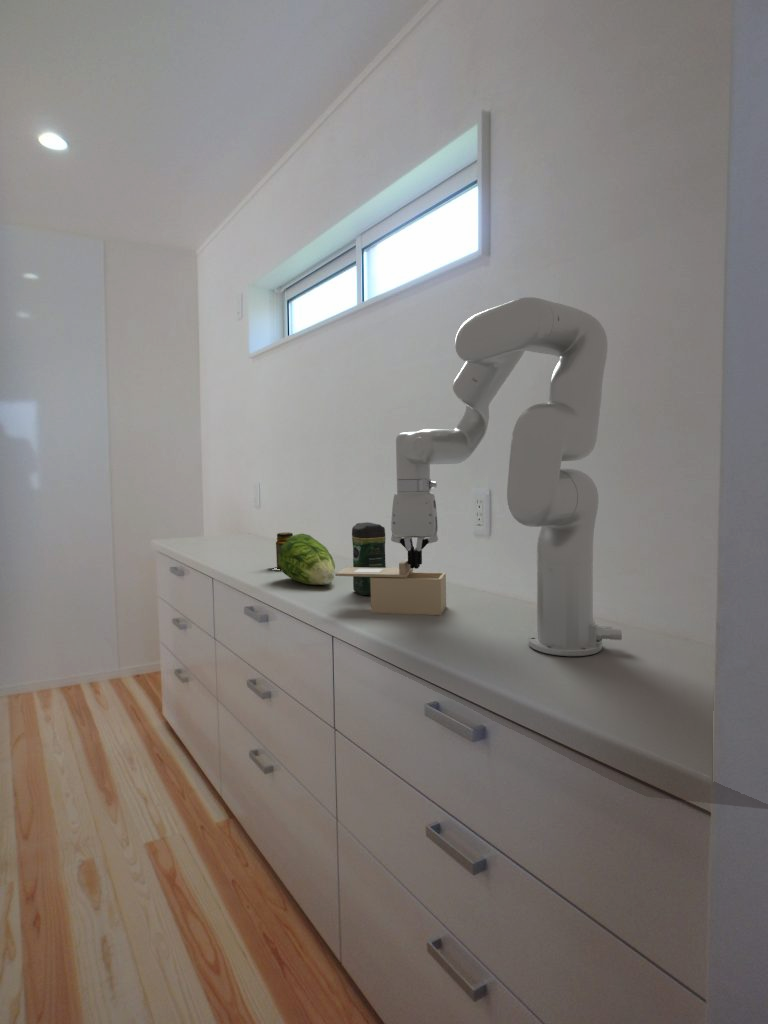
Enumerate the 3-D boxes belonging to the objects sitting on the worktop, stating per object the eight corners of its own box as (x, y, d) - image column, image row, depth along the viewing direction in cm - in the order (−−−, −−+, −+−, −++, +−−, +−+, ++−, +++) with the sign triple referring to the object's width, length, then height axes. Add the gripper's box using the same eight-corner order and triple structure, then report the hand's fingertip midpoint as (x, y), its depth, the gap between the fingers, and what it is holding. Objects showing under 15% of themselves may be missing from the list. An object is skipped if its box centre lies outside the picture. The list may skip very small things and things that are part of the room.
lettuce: (308, 607, 159) (304, 562, 155) (274, 577, 178) (270, 536, 174) (353, 593, 166) (350, 549, 162) (316, 566, 185) (313, 526, 181)
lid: (413, 570, 139) (412, 558, 139) (405, 577, 131) (405, 564, 130) (346, 569, 143) (346, 557, 143) (335, 576, 134) (335, 563, 134)
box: (446, 606, 137) (445, 572, 137) (441, 615, 130) (440, 579, 129) (379, 604, 141) (379, 571, 141) (371, 612, 133) (370, 577, 133)
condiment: (300, 568, 197) (299, 532, 196) (279, 572, 191) (277, 535, 190) (287, 566, 202) (286, 531, 201) (266, 569, 196) (265, 533, 195)
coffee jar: (391, 594, 152) (389, 523, 151) (362, 597, 149) (360, 525, 148) (376, 587, 161) (375, 520, 160) (349, 590, 158) (347, 522, 157)
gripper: (448, 486, 135) (449, 565, 136) (385, 487, 138) (387, 564, 140) (443, 487, 128) (445, 571, 129) (377, 488, 131) (379, 569, 133)
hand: (415, 567), depth 134 cm, fingers closed
